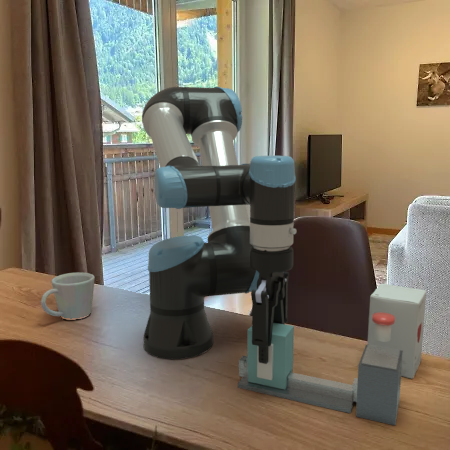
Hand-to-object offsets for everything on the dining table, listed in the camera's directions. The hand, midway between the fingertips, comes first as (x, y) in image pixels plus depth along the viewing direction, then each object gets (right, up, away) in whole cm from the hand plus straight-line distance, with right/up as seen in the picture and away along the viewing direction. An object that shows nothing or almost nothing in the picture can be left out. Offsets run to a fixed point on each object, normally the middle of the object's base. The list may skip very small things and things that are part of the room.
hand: (270, 370), depth 85 cm
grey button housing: (+17, -4, -7) cm, 19 cm away
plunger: (+17, +8, -10) cm, 21 cm away
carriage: (0, -3, +1) cm, 3 cm away
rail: (+5, -3, -2) cm, 6 cm away
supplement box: (+25, -1, +8) cm, 26 cm away
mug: (-48, +3, +33) cm, 58 cm away
